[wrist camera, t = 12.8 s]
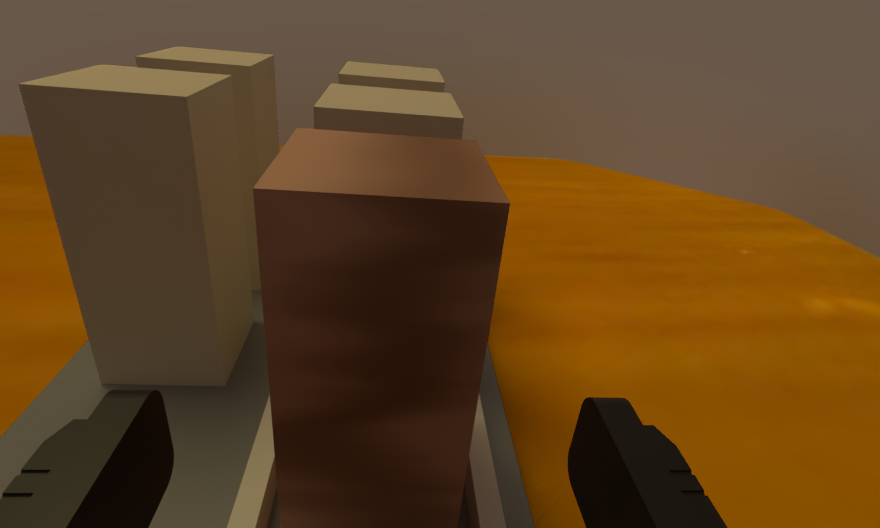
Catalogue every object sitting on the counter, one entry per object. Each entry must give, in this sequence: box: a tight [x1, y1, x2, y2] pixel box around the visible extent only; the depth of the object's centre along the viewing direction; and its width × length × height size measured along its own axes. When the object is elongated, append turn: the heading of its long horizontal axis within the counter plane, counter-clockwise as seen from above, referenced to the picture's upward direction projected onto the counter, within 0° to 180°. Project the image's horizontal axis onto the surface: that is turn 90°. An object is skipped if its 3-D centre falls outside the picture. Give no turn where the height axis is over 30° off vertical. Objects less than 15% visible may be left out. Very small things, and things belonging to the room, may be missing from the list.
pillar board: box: [0, 47, 534, 528], centre depth 21 cm, size 19×24×14 cm
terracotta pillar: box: [253, 128, 510, 528], centre depth 15 cm, size 5×5×12 cm
